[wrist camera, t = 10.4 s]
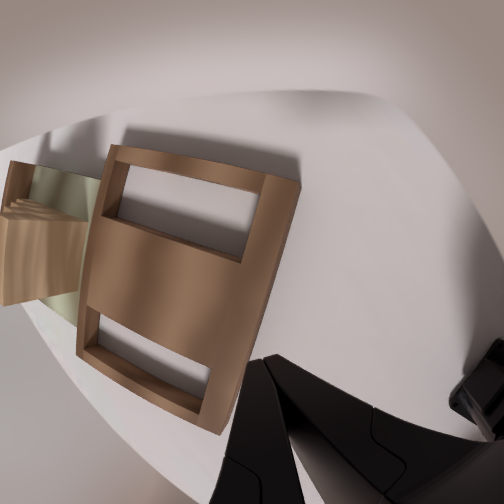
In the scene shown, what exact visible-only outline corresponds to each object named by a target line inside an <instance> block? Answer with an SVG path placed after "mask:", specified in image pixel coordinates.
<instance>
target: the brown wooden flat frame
mask: <svg viewBox="0 0 504 504" xmlns="http://www.w3.org/2000/svg"><path fill="white" fill-rule="evenodd" d="M130 165H134V166H139V167H144V168H149V169H154V170H158V171H163V172H168V173H172V174H177V175H181V176H186V177H190V178H195V179H199V180H203V181H207V182H212V183H216V184H220V185H224V186H228V187H232V188H236V189H240V190H244V191H248V192H252V193H256V194H259V195H260V198H259V202H258V205H257V209H256V212H255V216H254V219H253V223H252V226H251V230H250V233H249V237H248V241H247V244H246V248H245V251H244V255H243V258H242V259H241V258H238V257H235V256H232V255H229V254H226V253H223V252H220V251H217V250H214V249H211V248H208V247H205V246H202V245H199V244H196V243H193V242H190V241H186V240H183V239H180V238H177V237H174V236H171V235H168V234H165V233H162V232H159V231H156V230H153V229H150V228H147V227H145V226H142V225H139V224H136V223H133V222H130V221H127V220H124V219H121V218H118V217H117V213H118V209H119V205H120V201H121V197H122V193H123V189H124V185H125V181H126V178H127V174H128V171H129V167H130ZM301 188H302V187H301V185H300V184H299V182H297V181H293V180H289V179H286V178H282V177H278V176H274V175H270V174H266V173H262V172H257V171H253V170H249V169H245V168H240V167H236V166H231V165H227V164H222V163H217V162H213V161H208V160H203V159H198V158H193V157H187V156H182V155H176V154H171V153H165V152H159V151H153V150H147V149H141V148H134V147H128V146H120V145H113V144H111V146H110V149H109V153H108V156H107V159H106V163H105V166H104V170H103V174H102V177H101V180H99V179H95V178H91V177H87V176H83V175H79V174H74V173H70V172H66V171H61V170H57V169H53V168H48V167H44V166H38V165H33V164H28V163H23V162H17V161H12V160H11V161H10V165H9V169H8V174H7V178H6V183H5V188H4V193H3V199H2V205H1V211H0V212H3V210H4V206H9V207H10V206H11V202H16V201H17V198H18V199H30V200H34V201H36V202H39V203H41V204H43V205H46V206H48V207H51V208H53V209H56V210H58V211H61V212H64V213H66V214H69V215H71V216H74V217H76V218H79V219H81V220H84V221H87V222H89V223H88V228H87V233H86V239H85V245H84V251H83V257H82V264H81V271H80V279H79V287H78V291H75V292H70V293H66V294H61V295H56V296H51V297H47V298H42V299H38V300H40V301H41V302H42V303H44V304H45V305H46V306H48V307H49V308H50V309H52V310H53V311H54V312H56V313H57V314H58V315H60V316H61V317H63V318H64V319H65V320H67V321H68V322H70V323H71V324H73V325H74V326H76V327H77V339H76V355H77V356H78V357H79V358H81V359H82V360H83V361H85V362H86V363H88V364H89V365H91V366H92V367H94V368H95V369H97V370H98V371H100V372H101V373H103V374H104V375H106V376H107V377H109V378H110V379H112V380H113V381H115V382H117V383H118V384H120V385H121V386H123V387H125V388H126V389H128V390H130V391H131V392H133V393H135V394H136V395H138V396H140V397H142V398H143V399H145V400H147V401H149V402H151V403H152V404H154V405H156V406H158V407H160V408H162V409H164V410H166V411H168V412H169V413H171V414H173V415H175V416H177V417H179V418H181V419H184V420H186V421H188V422H190V423H192V424H194V425H196V426H198V427H201V428H203V429H205V430H207V431H210V432H212V433H214V434H217V435H219V436H220V435H221V433H222V432H223V430H224V428H225V427H226V425H227V424H228V422H229V419H230V416H231V413H232V410H233V407H234V404H235V401H236V398H237V395H238V392H239V389H240V386H241V383H242V380H243V377H244V372H245V368H246V364H247V362H249V359H250V356H251V353H252V350H253V347H254V344H255V341H256V338H257V335H258V332H259V328H260V325H261V322H262V319H263V316H264V313H265V309H266V306H267V303H268V300H269V297H270V293H271V290H272V287H273V284H274V280H275V277H276V274H277V270H278V267H279V264H280V260H281V257H282V254H283V250H284V247H285V244H286V240H287V237H288V233H289V230H290V226H291V223H292V219H293V216H294V213H295V209H296V206H297V202H298V198H299V195H300V191H301ZM100 313H101V314H103V315H105V316H107V317H108V318H110V319H112V320H114V321H115V322H117V323H119V324H121V325H123V326H124V327H126V328H128V329H130V330H132V331H134V332H136V333H138V334H140V335H141V336H143V337H145V338H147V339H149V340H151V341H153V342H155V343H157V344H159V345H161V346H163V347H165V348H167V349H170V350H172V351H174V352H176V353H178V354H180V355H182V356H184V357H187V358H189V359H191V360H193V361H196V362H198V363H200V364H202V365H205V366H207V367H209V368H212V369H211V373H210V377H209V380H208V384H207V388H206V391H205V395H204V399H203V400H201V399H199V398H197V397H195V396H192V395H190V394H188V393H186V392H184V391H182V390H180V389H178V388H176V387H174V386H172V385H170V384H168V383H166V382H164V381H162V380H160V379H158V378H156V377H154V376H152V375H150V374H148V373H147V372H145V371H143V370H141V369H139V368H138V367H136V366H134V365H132V364H130V363H129V362H127V361H125V360H124V359H122V358H120V357H118V356H117V355H115V354H113V353H112V352H110V351H109V350H107V349H105V348H104V347H102V346H101V345H99V344H97V341H98V330H99V320H100Z"/></svg>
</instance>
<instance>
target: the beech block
mask: <svg viewBox="0 0 504 504" xmlns="http://www.w3.org/2000/svg"><path fill="white" fill-rule="evenodd" d="M88 223H89V222H87V221H84V220H81V219H79V218H76V217H74V216H71V215H69V214H66V213H64V212H61V211H58V210H56V209H53V208H51V207H48V206H46V205H43V204H41V203H39V202H36V201H34V200H30V199H18V198H17V201H16V202H11V206H10V207H9V206H4V210H3V212H0V304H1V305H2V306H8V305H13V304H18V303H23V302H28V301H32V300H37V299H42V298H47V297H51V296H56V295H61V294H66V293H70V292H75V291H78V287H79V279H80V271H81V264H82V257H83V251H84V245H85V239H86V233H87V228H88Z"/></svg>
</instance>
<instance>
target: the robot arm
mask: <svg viewBox="0 0 504 504" xmlns="http://www.w3.org/2000/svg"><path fill="white" fill-rule="evenodd" d="M499 344H500V346H499V347H498V345H499ZM455 402H456V404H454V403H455ZM453 404H454V405H453ZM449 406H450V408H451V409H452V410H454V411H455V412H457V413H458V414H460V415H461V416H463V417H464V418H466V419H468V420H469V421H471V422H472V423H474V424H475V425H477V426H478V427H479V429H480V430H481V432H482V433H483V435H484V437H485V438H486V440H487V441H488V442H478V441H471V440H467V439H463V438H459V437H455V436H451V435H448V434H444V433H441V432H437V431H434V430H431V429H427V428H424V427H421V426H418V425H415V424H412V423H410V422H407V421H404V420H402V419H400V418H397V417H395V416H393V415H391V414H388V413H386V412H384V411H382V410H380V409H378V408H376V407H374V408H373V406H372V405H370V404H368V403H366V402H364V401H362V400H360V399H358V398H356V397H354V396H352V395H350V394H348V393H346V392H344V391H343V390H341V389H339V388H337V387H335V386H333V385H331V384H330V383H328V382H326V381H324V380H322V379H320V378H319V377H317V376H315V375H313V374H311V373H310V372H308V371H306V370H304V369H303V368H301V367H299V366H297V365H296V364H294V363H292V362H290V361H289V360H287V359H285V358H284V357H282V356H280V355H278V354H275V355H271V356H267V357H264V358H263V360H262V359H256V360H252V361H249V362H247V364H246V368H245V372H244V377H243V381H242V385H241V389H240V393H239V398H238V402H237V406H236V410H235V414H234V418H233V423H232V427H231V431H230V435H229V439H228V443H227V447H226V451H225V457H224V458H223V462H222V466H221V470H220V473H219V477H218V480H217V483H216V486H215V489H214V492H213V494H212V497H211V499H210V502H209V504H305V500H304V496H303V492H302V488H301V484H300V480H299V476H298V472H297V468H296V464H295V460H294V456H293V452H292V448H291V445H292V447H293V449H294V450H295V452H296V454H297V456H298V458H299V459H300V461H301V463H302V465H303V467H304V468H305V470H306V472H307V474H308V475H309V477H310V479H311V481H312V482H313V484H314V486H315V487H316V489H317V491H318V492H319V494H320V496H321V498H322V499H323V501H324V503H325V504H504V340H502V339H501V338H498V339H497V340H496V341H495V342H494V344H493V345H492V347H491V348H490V350H489V351H488V352H487V354H486V355H485V357H484V358H483V359H482V361H481V362H480V364H479V365H478V366H477V368H476V369H475V370H474V372H473V373H472V374H471V376H470V377H469V378H468V379H467V381H466V382H465V383H464V384H463V386H462V387H461V388H460V389H459V390H458V392H457V393H456V394H455V395H454V396H453V397H452V399H451V400H450V401H449ZM290 443H291V444H290Z"/></svg>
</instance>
